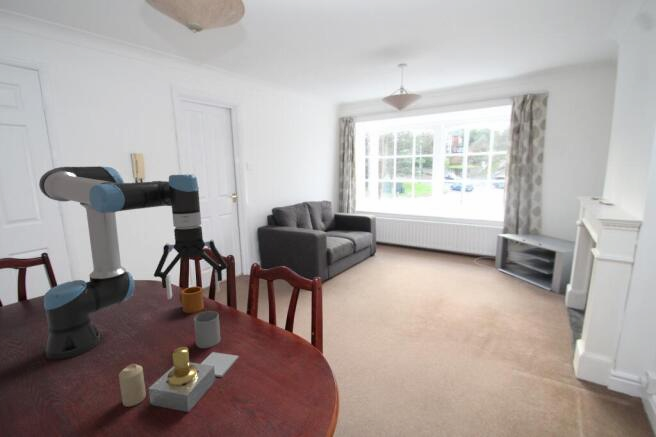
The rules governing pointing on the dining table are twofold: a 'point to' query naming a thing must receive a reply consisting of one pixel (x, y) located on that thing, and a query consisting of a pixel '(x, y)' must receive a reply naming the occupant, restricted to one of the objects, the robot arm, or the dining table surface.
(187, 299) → the mug
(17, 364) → the dining table surface
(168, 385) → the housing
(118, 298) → the robot arm
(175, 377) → the gold flanged shaft
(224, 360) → the mat
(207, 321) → the cup
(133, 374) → the candle
